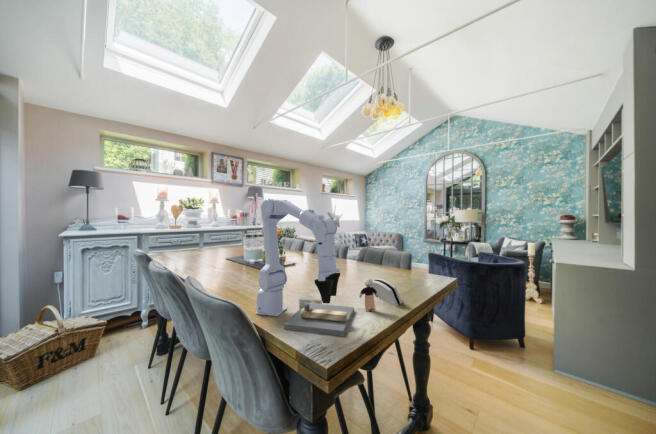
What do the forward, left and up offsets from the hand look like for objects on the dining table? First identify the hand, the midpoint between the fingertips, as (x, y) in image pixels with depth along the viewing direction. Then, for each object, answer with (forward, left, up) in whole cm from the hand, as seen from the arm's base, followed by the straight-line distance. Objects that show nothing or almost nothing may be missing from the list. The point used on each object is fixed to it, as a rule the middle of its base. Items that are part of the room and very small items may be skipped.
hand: (329, 299), depth 73 cm
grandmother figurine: (+10, +21, -11) cm, 25 cm away
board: (-6, +9, -10) cm, 15 cm away
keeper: (-11, +12, -9) cm, 18 cm away
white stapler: (+16, +35, -11) cm, 40 cm away
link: (-4, +6, -9) cm, 11 cm away
